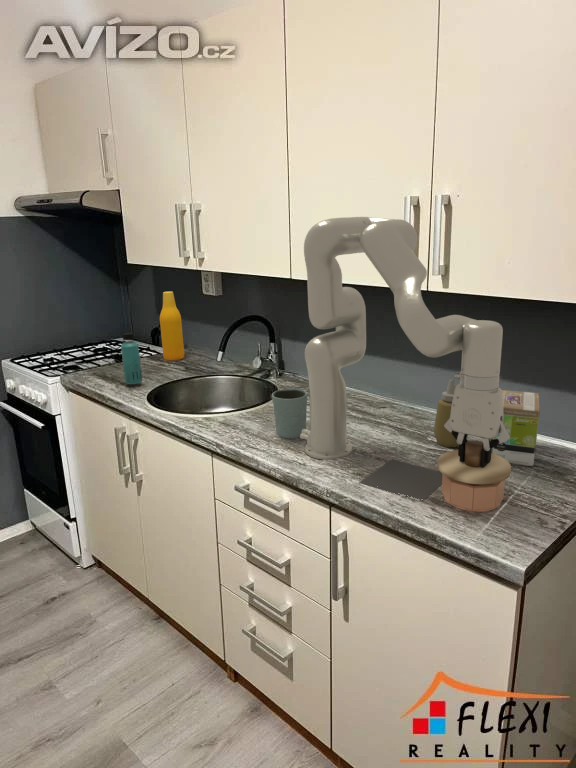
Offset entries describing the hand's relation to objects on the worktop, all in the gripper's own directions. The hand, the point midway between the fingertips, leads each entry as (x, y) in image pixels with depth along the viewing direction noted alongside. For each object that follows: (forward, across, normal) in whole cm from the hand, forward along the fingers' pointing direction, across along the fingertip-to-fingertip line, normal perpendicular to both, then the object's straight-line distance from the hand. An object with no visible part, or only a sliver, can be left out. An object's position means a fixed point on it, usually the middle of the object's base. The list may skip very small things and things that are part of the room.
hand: (474, 461), depth 126 cm
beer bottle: (+10, -154, +48) cm, 162 cm away
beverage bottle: (+9, -136, +13) cm, 137 cm away
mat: (+9, -16, 0) cm, 18 cm away
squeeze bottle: (+9, -17, +26) cm, 32 cm away
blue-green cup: (+9, -57, +8) cm, 59 cm away
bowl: (+9, 0, 0) cm, 9 cm away
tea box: (+9, -1, +30) cm, 31 cm away
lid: (+2, 0, 0) cm, 2 cm away
